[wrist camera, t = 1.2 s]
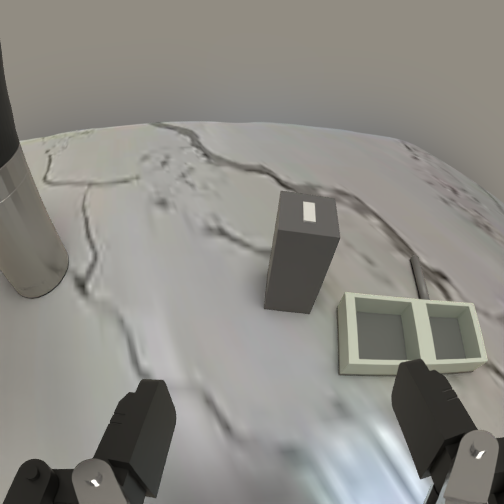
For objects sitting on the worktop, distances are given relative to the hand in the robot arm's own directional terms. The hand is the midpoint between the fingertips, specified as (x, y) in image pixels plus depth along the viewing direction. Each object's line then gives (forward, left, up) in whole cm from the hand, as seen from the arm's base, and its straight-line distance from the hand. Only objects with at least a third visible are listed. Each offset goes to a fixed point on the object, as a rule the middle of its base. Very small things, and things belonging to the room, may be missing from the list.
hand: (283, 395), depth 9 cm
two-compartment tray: (-6, +23, -19) cm, 30 cm away
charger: (-14, +11, -19) cm, 25 cm away
